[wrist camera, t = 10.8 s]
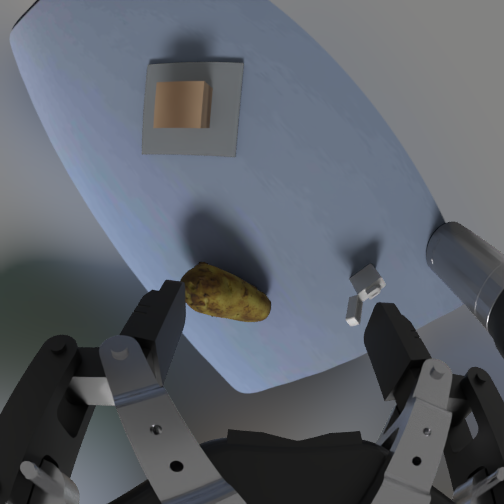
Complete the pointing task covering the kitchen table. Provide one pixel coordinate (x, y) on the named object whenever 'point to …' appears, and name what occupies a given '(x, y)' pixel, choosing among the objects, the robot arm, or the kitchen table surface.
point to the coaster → (221, 119)
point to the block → (182, 104)
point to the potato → (224, 294)
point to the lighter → (363, 292)
